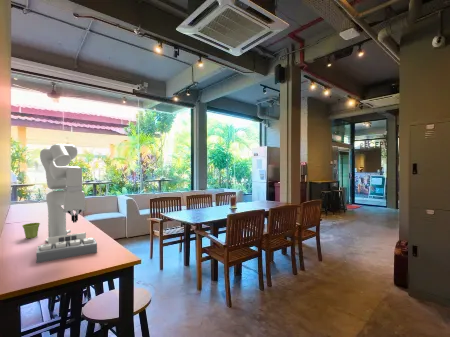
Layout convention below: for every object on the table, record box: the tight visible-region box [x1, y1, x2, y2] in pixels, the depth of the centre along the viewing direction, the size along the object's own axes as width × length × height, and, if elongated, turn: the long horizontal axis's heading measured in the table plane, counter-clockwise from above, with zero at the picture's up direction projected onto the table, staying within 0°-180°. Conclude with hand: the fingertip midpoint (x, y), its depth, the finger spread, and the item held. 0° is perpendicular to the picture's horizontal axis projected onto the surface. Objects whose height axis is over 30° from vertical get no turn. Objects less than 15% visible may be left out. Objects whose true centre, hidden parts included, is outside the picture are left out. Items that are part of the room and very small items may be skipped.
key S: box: [56, 241, 66, 248], centre depth 134 cm, size 5×5×3 cm
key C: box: [70, 239, 80, 246], centre depth 138 cm, size 5×5×3 cm
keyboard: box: [35, 232, 98, 264], centre depth 136 cm, size 27×12×9 cm, turn 124°
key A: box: [40, 243, 52, 251], centre depth 131 cm, size 5×5×3 cm
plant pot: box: [22, 222, 41, 240], centre depth 166 cm, size 9×9×9 cm
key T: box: [83, 237, 94, 244], centre depth 141 cm, size 5×5×3 cm
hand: (74, 222), depth 138 cm, fingers closed
